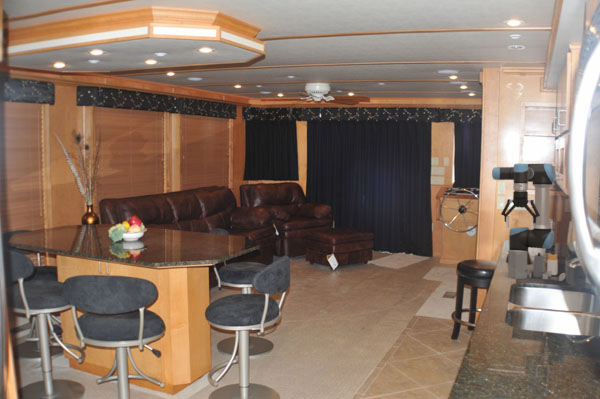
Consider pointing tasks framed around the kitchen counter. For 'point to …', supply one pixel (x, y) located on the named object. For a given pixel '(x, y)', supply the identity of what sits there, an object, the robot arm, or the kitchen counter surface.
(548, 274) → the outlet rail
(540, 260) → the twin plug
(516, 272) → the skincare box
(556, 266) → the plug
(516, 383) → the kitchen counter surface
